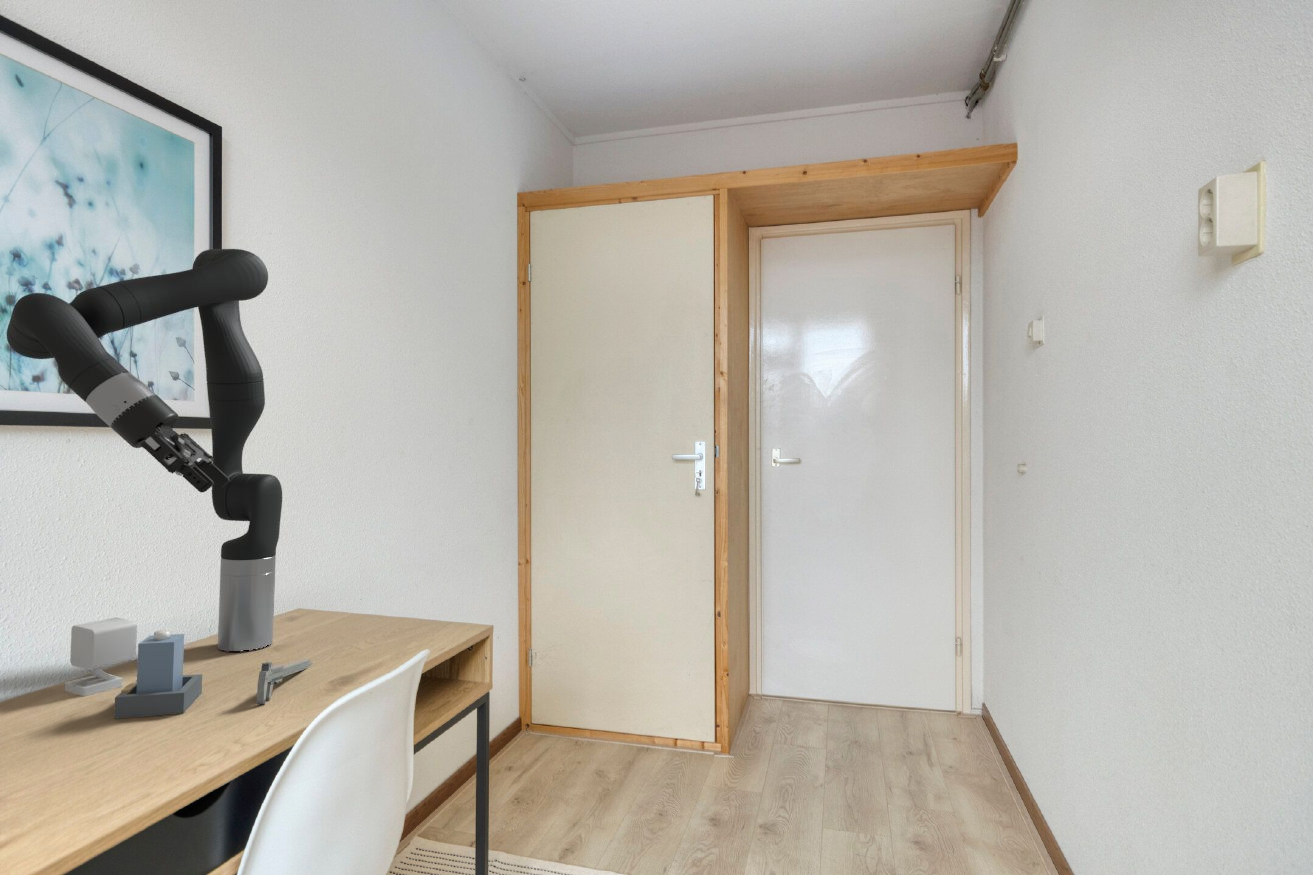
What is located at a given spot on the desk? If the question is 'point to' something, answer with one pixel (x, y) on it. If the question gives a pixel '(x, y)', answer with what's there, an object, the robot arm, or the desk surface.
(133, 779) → the desk surface
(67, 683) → the security camera
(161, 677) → the blue gray block
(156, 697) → the pocket plate
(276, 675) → the caliper
